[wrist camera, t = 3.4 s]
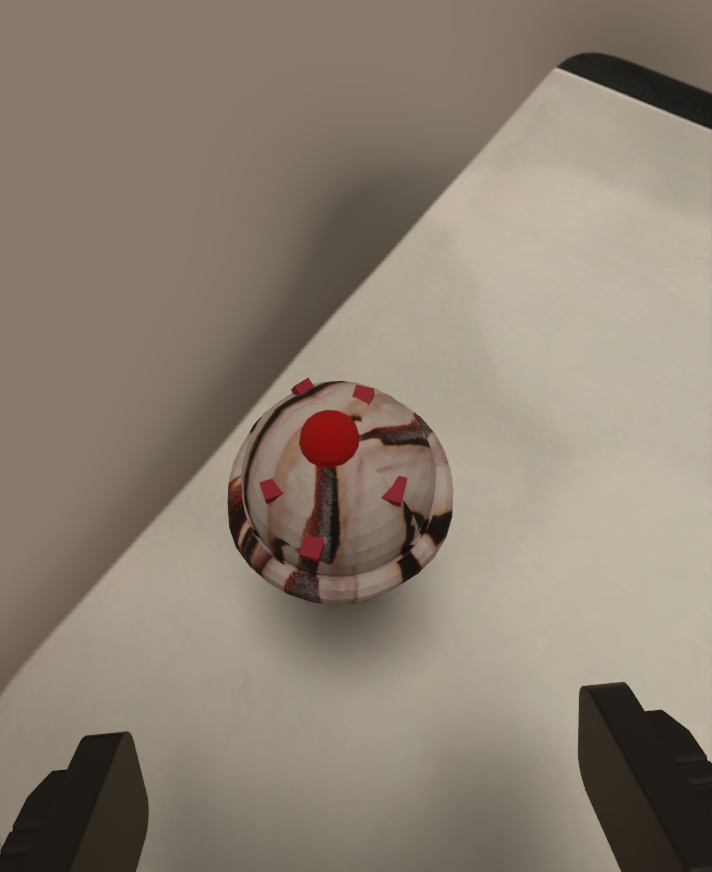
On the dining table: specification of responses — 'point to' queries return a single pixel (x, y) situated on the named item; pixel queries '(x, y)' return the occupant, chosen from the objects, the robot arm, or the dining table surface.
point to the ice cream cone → (339, 493)
